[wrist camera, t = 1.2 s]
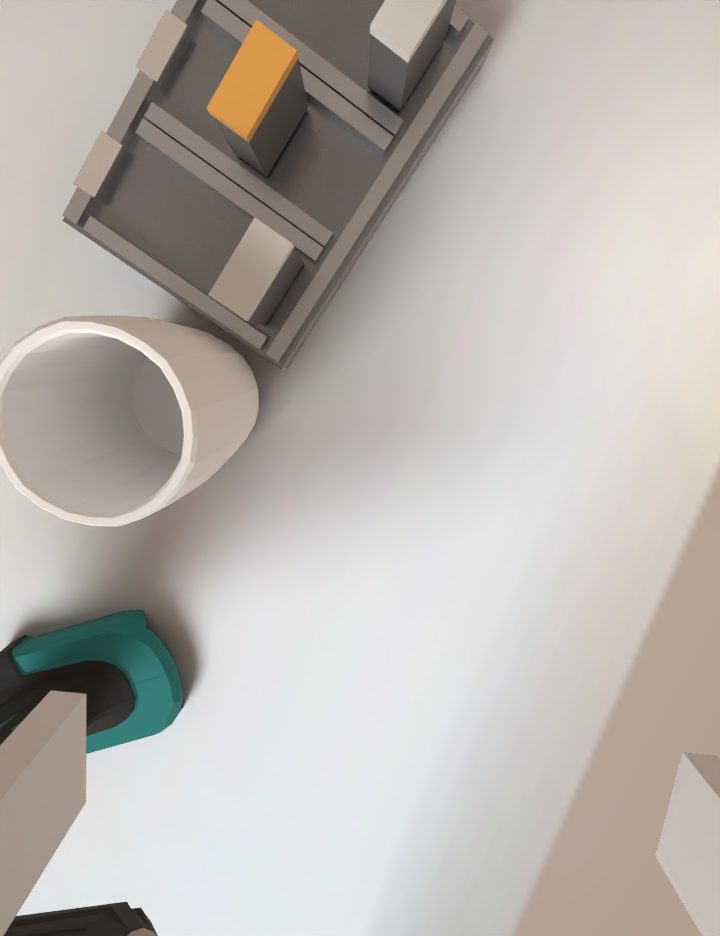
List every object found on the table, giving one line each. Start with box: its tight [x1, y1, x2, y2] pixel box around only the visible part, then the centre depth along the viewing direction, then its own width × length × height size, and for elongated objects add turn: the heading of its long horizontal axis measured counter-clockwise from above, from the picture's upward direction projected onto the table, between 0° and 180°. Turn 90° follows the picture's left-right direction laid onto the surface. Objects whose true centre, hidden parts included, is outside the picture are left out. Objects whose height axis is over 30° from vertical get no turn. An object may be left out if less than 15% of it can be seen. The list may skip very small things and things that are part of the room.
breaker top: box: [368, 0, 456, 111], centre depth 25 cm, size 2×4×5 cm, turn 146°
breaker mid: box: [207, 19, 308, 177], centre depth 26 cm, size 2×4×5 cm, turn 146°
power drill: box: [0, 610, 183, 936], centre depth 26 cm, size 26×9×25 cm, turn 107°
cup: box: [0, 316, 259, 527], centre depth 27 cm, size 8×8×14 cm
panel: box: [63, 0, 494, 369], centre depth 29 cm, size 14×20×3 cm
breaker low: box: [208, 217, 304, 326], centre depth 27 cm, size 2×4×5 cm, turn 146°
